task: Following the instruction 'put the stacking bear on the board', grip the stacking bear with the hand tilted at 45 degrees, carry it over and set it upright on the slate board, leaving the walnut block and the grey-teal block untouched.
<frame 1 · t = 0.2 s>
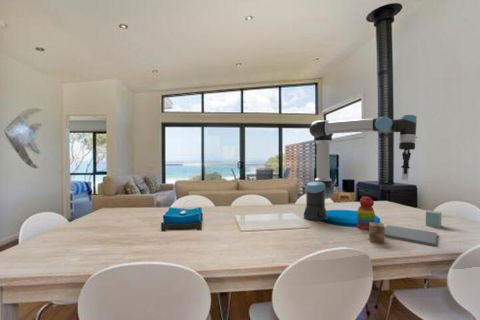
hand: (404, 179, 138), 27 cm above the table, tool pointing down, fingers open, 13 cm apart
walnut block: (376, 240, 117), on the table
grey-teal block: (433, 225, 142), on the table
slate board: (408, 235, 125), on the table
stacking bear: (366, 228, 138), on the table
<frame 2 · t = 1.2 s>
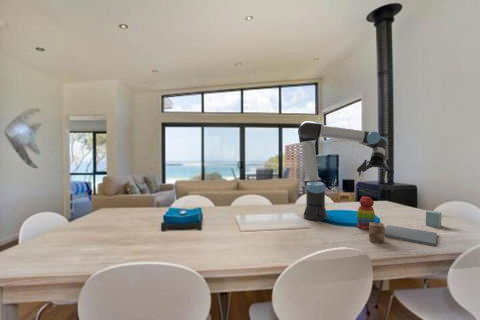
hand: (372, 180, 147), 26 cm above the table, tool tilted 45°, fingers open, 13 cm apart
nothing on the table moved.
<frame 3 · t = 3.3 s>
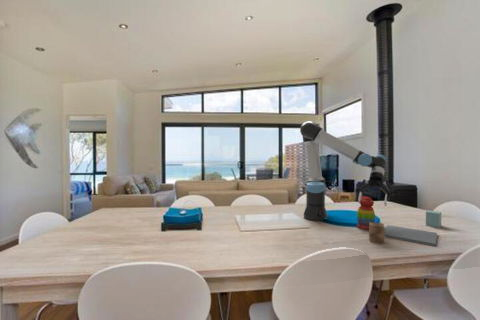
hand: (371, 203, 141), 13 cm above the table, tool tilted 45°, fingers open, 13 cm apart
nothing on the table moved.
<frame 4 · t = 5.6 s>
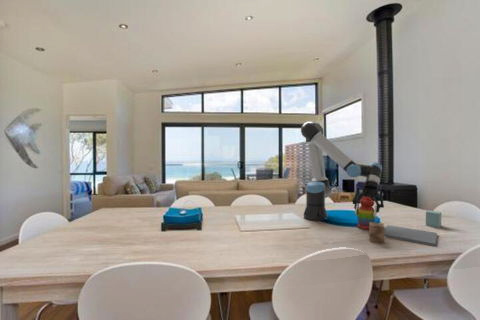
hand: (364, 215, 136), 8 cm above the table, tool tilted 45°, fingers closed on stacking bear, 9 cm apart
stacking bear: (366, 228, 138), on the table, touching gripper
everything else where it was.
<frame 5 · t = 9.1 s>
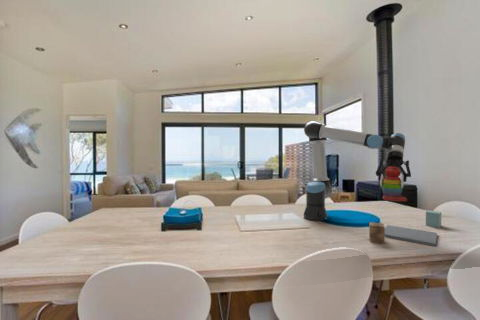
hand: (391, 185, 127), 25 cm above the table, tool tilted 45°, fingers closed on stacking bear, 9 cm apart
stacking bear: (392, 199, 130), point 17 cm above the table, touching gripper
everything else where it was.
when the fingers open (11 cm above the table, at t = 12.7 s): stacking bear drops 1 cm, resting on slate board.
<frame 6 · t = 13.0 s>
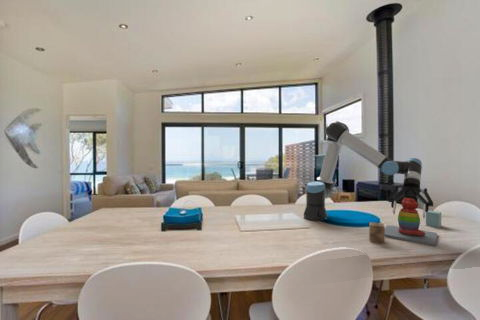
hand: (408, 214, 122), 11 cm above the table, tool tilted 45°, fingers open, 12 cm apart
stacking bear: (409, 233, 124), point 1 cm above the table, touching slate board
everything else where it was.
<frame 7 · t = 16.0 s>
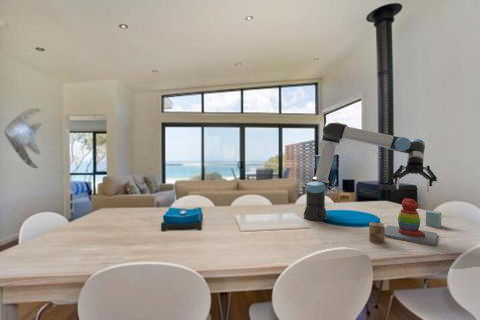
hand: (412, 189, 131), 23 cm above the table, tool tilted 45°, fingers open, 13 cm apart
nothing on the table moved.
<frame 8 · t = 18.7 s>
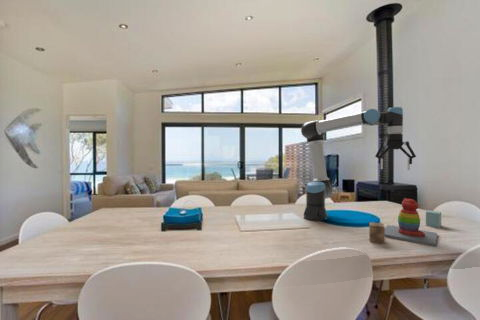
hand: (394, 169, 144), 33 cm above the table, tool pointing down, fingers open, 13 cm apart
nothing on the table moved.
at the end: stacking bear inside the target area on the slate board (0.3 cm from its centre), point 1.0 cm above the slate board's base; stacking bear tilted 0°; walnut block moved 0.1 cm from its start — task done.
